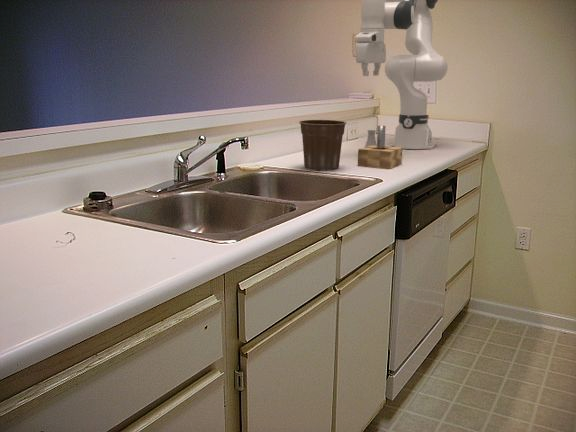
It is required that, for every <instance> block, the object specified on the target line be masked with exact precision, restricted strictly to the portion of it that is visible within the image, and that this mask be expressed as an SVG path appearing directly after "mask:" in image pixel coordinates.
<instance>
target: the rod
mask: <svg viewBox="0 0 576 432" xmlns="http://www.w3.org/2000/svg"><path fill="white" fill-rule="evenodd" d="M376 132H377V133H376V136H377V137H376V144H377V149H382V150H385V146H386V125H377V131H376Z"/></svg>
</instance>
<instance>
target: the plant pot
mask: <svg viewBox="0 0 576 432" xmlns="http://www.w3.org/2000/svg"><path fill="white" fill-rule="evenodd" d="M298 122H299V124H300V134H301V135H302V136H301V137H302V149H303V165H304V168H305V169H307V170H311V171H321V170H324V171H336V170H337V169H339V168H340V159H341V152H342V145H343V136H344V133H345V127H346V125H347V121H343V120H334V119H305V120H300V121H298Z"/></svg>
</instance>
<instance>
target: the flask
mask: <svg viewBox="0 0 576 432" xmlns="http://www.w3.org/2000/svg"><path fill="white" fill-rule="evenodd" d="M376 132H377V131H376V130H375V129H368V130H367V133H368V134H367V138H366V139H367V140H366V143H365V145H364V147H368V146H371V145H375V146H377V139H376Z"/></svg>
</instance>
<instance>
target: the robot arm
mask: <svg viewBox="0 0 576 432" xmlns="http://www.w3.org/2000/svg"><path fill="white" fill-rule="evenodd" d="M438 1H439V0H361V7H360V19H361V25H360V28H359V29H360V32H358V34H356V35H355V36H354V41H355V52H354V54H355V55H354V56H355V62H356V63H357V64H361V70H362V77H368V76H369V73H370V71H369V64H373V66H374V68H373V70H372V73H373V74H372V76H375V77H376V76H379V74H380V70H381V66H382V65H381V64H385V65H384V73H385V76H386V77H387V79H388V80H390V81H391V82H392V84H394V85H395V87H396V88H397V90H398V93H399V99H400V101H399V102H400V103H399V104H400V110H399V111H400V112H399V113H400V114H399V115H398V125H397V126H396V127H395V128H394V129H395V130H394V131H395V132H394V138H393V139H394V140H393V143H391V144H390V147H401V148H403V149H402V150H422V149H423V150H426V149H427V150H428V149H429V150H430V149H431V150H433V149H434V148H435V147H436V146H437V142H435V141H432V138H433V137H432V135H433V133H432V131H431V128H430V127H429V124H428V122H429V121H428V120H429V118H430V117H429V114H427V109H428V96H427V94H426V93H425V92H423V91H422V90H420V89H417V88H416V87H415V86H414V83H415V82H419V83H420V82H422V83H423V82H424V83H425V82H426V83H427V82H437V81H441V80H443V79H444V78H445V76H446V75H447V73H448V62H447V60H446V58H445V57H444V56H442V55H441V54H439V53H438V52H437V51H436V49H435V48H434V47H433V15H432V13H431V11H430V10H433V9H434V8H435V6H436V4H437V2H438ZM385 30H406V32H405V41H404V46H405V48H406V50H407V51H408V52H409V53H410V54H399V55H394V56H390V57H389V58H388V59H387V52H386V51H387V47H386V43H385Z"/></svg>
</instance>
